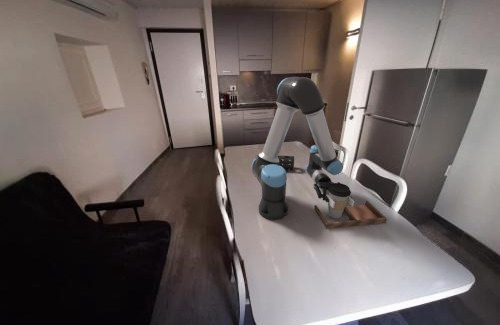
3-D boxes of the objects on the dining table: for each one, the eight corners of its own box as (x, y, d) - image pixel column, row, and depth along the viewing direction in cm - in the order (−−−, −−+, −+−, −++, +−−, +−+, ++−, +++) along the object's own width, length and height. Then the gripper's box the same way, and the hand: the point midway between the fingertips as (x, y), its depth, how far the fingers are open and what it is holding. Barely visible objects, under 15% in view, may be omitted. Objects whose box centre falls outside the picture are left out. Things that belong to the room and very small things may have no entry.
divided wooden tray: (325, 228, 88) (326, 224, 87) (313, 209, 101) (314, 205, 100) (385, 223, 90) (387, 218, 89) (366, 204, 102) (367, 200, 101)
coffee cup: (328, 205, 100) (332, 180, 94) (348, 213, 95) (354, 186, 88) (321, 215, 94) (325, 188, 87) (342, 223, 88) (348, 195, 82)
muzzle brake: (293, 172, 138) (294, 158, 134) (254, 170, 144) (253, 157, 140) (293, 166, 147) (294, 153, 143) (256, 164, 152) (256, 152, 148)
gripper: (339, 184, 109) (364, 209, 88) (302, 186, 107) (318, 213, 87) (341, 172, 106) (368, 195, 85) (303, 174, 104) (321, 199, 84)
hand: (343, 204), depth 86 cm, fingers closed on coffee cup, 8 cm apart
